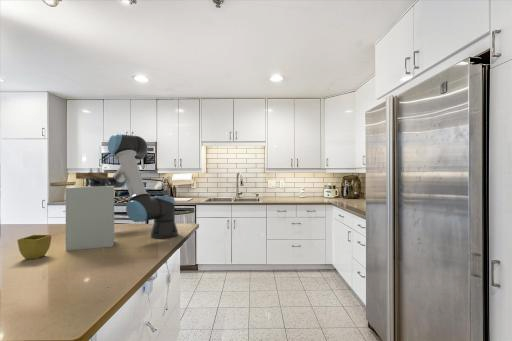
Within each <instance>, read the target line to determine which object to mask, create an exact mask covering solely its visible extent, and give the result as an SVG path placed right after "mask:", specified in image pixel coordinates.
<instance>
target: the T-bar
mask: <svg viewBox="0 0 512 341" xmlns="http://www.w3.org/2000/svg"><path fill="white" fill-rule="evenodd" d="M97 172H98V171H93V173H89V172H76V173H75V180H76V179H81V180H82V179H85V180H86V179H90V178H108V177H109V172H102V173H97Z"/></svg>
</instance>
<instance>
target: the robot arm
mask: <svg viewBox="0 0 512 341" xmlns="http://www.w3.org/2000/svg"><path fill="white" fill-rule="evenodd" d="M148 148H149V147H148V144H147V140H145V139H144V138H143V137H141V136H139V135H131V134H130V135H129V134H121V133H115V134H112V135H111V136H110V137H109V139H108V142H107V152H108V154H111V155H114V158H115V160H116V161H118V162H119V165H120V166H119V168H118V169H117V170H116V172H114V175H112V176H108V178H90V179H85V185H84V187H85V186H114V189H120V188H124V187H127V190H128V193H129V194H128V195H129V199H127V200H128V202H127V204H126V206H125V207H126V209H125V210H126V215H127V216H128V218H129V220H131V221H132V222H134V223H140V222H141V223H143V222H147V221H152V220H153V225H152V228H151V231H150V237H151V238H154V239H169V238H173V237H176V236H178V235H179V232H178V231H179V230H178V228H177V224H176V222H175V221H176V220H175V219H176V216H175V215H176V214H175V213H176V212H175V211H176V209H175V208H176V203H175V202H176V201H175V198H174V197H173V196H163V195H162V196H161V195H154V196H153V198H152V196H151V194H150V193H148V192H147V190H146V187H145V184H144V181H143V178H142V176H141V175H142V174H141V171H140V169H139V166H138V164H139V162H140V161H142V160H143V159H144V158H145V157H146V155H147V153H148ZM93 172H94V171H93V168H92V167H90V168H89V172H88V173H93ZM96 172H97V173H103V172H102V171H101V170H100V168H99V167H98V168H97V171H96Z"/></svg>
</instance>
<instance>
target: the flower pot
mask: <svg viewBox="0 0 512 341" xmlns="http://www.w3.org/2000/svg"><path fill="white" fill-rule="evenodd" d="M16 240H17V244H18V245H17V246H18V250H19V252H20V254H21V256H22V257H23V258H24V259H25V260H26V259H29V260H31V259H33V260H36V259H39V258H41V257H44V256H45V255H46V254H47V253H48V251H49V250H50V247H51V242H52V234H32V235H29V236H25V237H21V238H19V239H16Z"/></svg>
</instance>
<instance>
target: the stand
mask: <svg viewBox="0 0 512 341" xmlns="http://www.w3.org/2000/svg"><path fill="white" fill-rule="evenodd" d="M114 244H115V188H114V186H85V185H84V186H68V187H65V252H68V251H77V250H88V249H89V250H90V249H100V248H111V247H113V246H114Z"/></svg>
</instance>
